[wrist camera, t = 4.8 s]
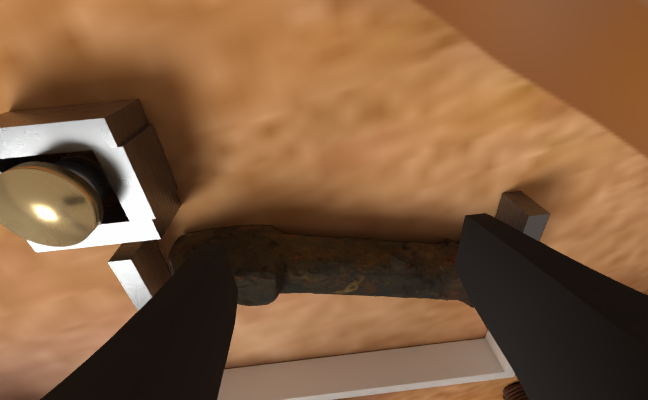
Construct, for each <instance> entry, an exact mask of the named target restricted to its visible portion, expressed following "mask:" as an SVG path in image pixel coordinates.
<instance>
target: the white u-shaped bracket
mask: <svg viewBox="0 0 648 400" xmlns="http://www.w3.org/2000/svg"><path fill="white" fill-rule="evenodd" d="M514 375H515V373H514V371H513V369H512V368H511V366H510V364H509V363H508V361H507V359H506V358H505V356H504V355H503V353H502V351H501V350H500V348H499V346H498V345H497V343H496V342H495V340H494V338H493V337H492V335H491V333H490V332H489V330H488V331H487V334H486V336H485V338H482V339H474V340H465V341H457V342H449V343H440V344H432V345H424V346H415V347H407V348H399V349H390V350H382V351H374V352H365V353H357V354H349V355H340V356H332V357H324V358H315V359H307V360H299V361H290V362H282V363H274V364H265V365H257V366H249V367H240V368H232V369H224V372H223V377H222V381H221V385H220V389H219V394H218V398H217V400H333V399H341V398H349V397H357V396H366V395H374V394H382V393H390V392H398V391H406V390H414V389H422V388H430V387H438V386H446V385H454V384H462V383H470V382H478V381H487V380H495V379H503V378H511V377H514Z"/></svg>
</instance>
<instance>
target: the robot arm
mask: <svg viewBox="0 0 648 400" xmlns="http://www.w3.org/2000/svg"><path fill="white" fill-rule="evenodd" d="M455 268H456V271H457V273H458V275H459V278H460V280H461V282H462V285H463V287H464V289H465V291H466V293H467V295H468V297H469V299H470V301H471V302H472V304H473V306H474V307H475V309H476V311H477V312H478V314H479V316H480V317H481V319H482V321H483V322H484V324H485V325H486V327H487V329H488V330H489V332H490V333H491V335H492V337H493V338H494V340H495V342H496V343H497V345H498V346H499V348H500V350H501V351H502V353H503V355H504V356H505V358H506V359H507V361H508V363H509V364H510V366H511V368H512V369H513V371H514V373H515V375H516V376H517V378H518V380H519V382H520V383H521V385H522V387H523V389H524V391H525V393H526V395H527V397H528V399H529V400H648V295H645V294H643V293H641V292H639V291H636V290H634V289H632V288H630V287H628V286H626V285H623V284H621V283H619V282H617V281H615V280H613V279H611V278H609V277H607V276H605V275H603V274H601V273H599V272H597V271H595V270H593V269H590V268H588V267H587V266H585V265H583V264H581V263H579V262H577V261H575V260H573V259H571V258H569V257H567V256H565V255H563V254H561V253H560V252H558V251H556V250H554V249H552V248H550V247H548V246H546V245H545V244H543V243H541V242H539V241H537V240H535V239H534V238H532V237H530V236H528V235H526V234H524V233H523V232H521V231H519V230H517V229H515V228H513V227H512V226H510V225H508V224H506V223H504V222H502V221H500V220H498V219H496V218H494V217H492V216H490V215H488V214H486V213H484V214H475V215H466V216H465V219H464V224H463V229H462V233H461V238H460V242H459V247H458V252H457V256H456V261H455ZM237 299H238V287H237V284H236V281H235V278H234V275H233V272H232V269H231V266H230V263H229V260H228V257H227V254H226V251H225V248H224V245H223V242H215V243H206V244H201V245H200V246H199V247H198V248H197V249H196V250H195V251H194V252H193V253H192V254H191V255H190V257H189V258H188V259H187V260H186V261H185V262H184V263H183V264H182V265H181V266H180V268H179V269H178V270H177V271H176V272H175V273H174V274H173V275H172V276H171V277H170V279H169V280H168V281H167V282H166V283H165V284H164V285H163V286H162V287H161V288H160V289H159V290H158V291H157V292H156V293H155V295H154V296H153V297H152V298H151V299H150V300H149V301H148V302H147V303H146V304H145V305H144V306H143V307H142V308H141V309H140V310H139V311H138V312H137V313H136V314H135V315H134V316H133V317H132V318H131V319H130V320H129V321H128V322H127V323H126V324H125V325H124V326H123V327H122V328H121V329H120V330H119V331H118V332H117V333H116V334H115V335H114V336H113V337H112V338H110V339H109V340H108V341H107V342H106V343H105V344H104V345H103V346H102V347H101V348H100V349H99V350H97V351H96V352H95V353H94V354H93V355H92V356H91V357H90V358H89V359H87V360H86V361H85V362H84V363H83V364H82V365H81V366H79V367H78V368H77V369H76V370H75V371H74V372H73V373H71V374H70V375H69V376H68V377H67V378H66V379H64V380H63V381H62V382H61V383H60V384H59V385H57V386H56V387H55V388H54V389H53V390H51V391H50V392H49V393H48V394H46V395H45V396H44V397H43V398H41V399H40V400H217V398H218V394H219V389H220V385H221V381H222V377H223V372H224V368H225V364H226V360H227V355H228V351H229V347H230V342H231V338H232V334H233V329H234V325H235V318H236V309H237Z"/></svg>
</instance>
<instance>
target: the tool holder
mask: <svg viewBox="0 0 648 400" xmlns="http://www.w3.org/2000/svg"><path fill="white" fill-rule="evenodd" d="M85 150H93V151H94V153H95V155H96V157H97V159H98V161H99V163H100V165H101V167H102V169H103V170H104V172H105V174H106V176H107V178H108V180H109V182H110V184H111V186H112V188H113V190H114V192H115V194H109V195H108V196H107V197H106V198H105V199H104V200H103V201H102V204H103V208H104V216H103V219H102V221H101V223H100V225H99V226H98V227H97V228H96V229H95V230H94V231H93V232H92V233H91V234H90V235H89V237H88V238H86V239H85V240H84V241H82V242H81V243H79V244H76V245H73V246H67V247H52V246H45V245H41V244H37V243H34V242H31V241H29V240H27V241H28V243H29V244H30V245H31V247H32V248H33V249H34V250H35V252H45V251H54V250H63V249H72V248H82V247H91V246H100V245H110V244H119V243H122V244H121V246H120V247H119V248H118V250H117V251H116V252H115V253H114V255H113V256H112V257H111V259H110V260H109V261H108V263H109V265H110V266H111V268H112V270H113V271H114V273H115V274H116V276H117V278H118V279H119V281H120V282H121V284H122V286H123V287H124V289H125V290H126V292H127V294H128V295H129V297H130V299H131V300H132V302H133V303H134V305H135V307H136V308H137V310H138V311H139V310H140V309H141V308H142V307H143V306H144V305H145V304H146V303H147V302H148V301H149V300H150V299H151V298H152V297H153V296H154V295H155V293H156V292H157V291H158V290H159V289H160V288H161V287H162V286H163V285H164V284H165V283H166V282H167V281H168V280H169V279H170V277H171V272H170V270H169V268H168V266H167V264H166V262H165V260H164V258H163V256H162V254H161V252H160V250H159V248H158V246H157V243H156V241H155V240H156V239H161V238H162V236H163V234H164V233H165V231H166V229H167V228H168V226H169V224H170V223H171V221H172V220H173V218H174V216H175V215H176V213H177V211H178V210H179V208H180V206H181V205H180V203H179V200H178V198H177V195H176V193H175V190H176V189H177V185H176V183H175V180H174V178H173V175H172V173H171V170H170V167H169V165H168V162H167V160H166V157H165V154H164V152H163V149H162V147H161V144H160V141H159V139H158V136H157V134H156V131H155V128H154V126H153V124H148V121H147V119H146V116H145V114H144V111H143V109H142V106H141V104H140V101H139V99H136V100H126V101H115V102H105V103H94V104H84V105H73V106H63V107H52V108H42V109H31V110H21V111H10V112H6V113H3V114H0V174H1V173H3V172H5V171H7V170H9V169H10V168H12V167H14V166H16V165H18V164H21V163H25V162H33V161H38V162H47V163H52V164H53V163H55V162H57V161H58V160H60V159H59V158H58V156H57V154H56V153H65V152H75V151H85ZM549 215H550V213H548V212H547V211H546V210H545V209H543V208H542V207H541V206H539V205H538V204H537V203H536V202H534V201H533V200H532V199H531V198H529V197H528V196H527V195H525V194H524V193H523V192H522V191H518V192H509V193H502V196H501V200H500V203H499V207H498V210H497V214H496V217H495V218H496V219H498V220H500V221H502V222H504V223H506V224H508V225H510V226H512V227H513V228H515V229H517V230H519V231H521V232H523V233H524V234H526V235H528V236H530V237H532V238H534V239H535V240H537V241H540V238H541V236H542V233H543V231H544V228H545V226H546V223H547V221H548V218H549Z"/></svg>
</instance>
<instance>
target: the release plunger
mask: <svg viewBox="0 0 648 400" xmlns="http://www.w3.org/2000/svg"><path fill="white" fill-rule="evenodd" d="M112 191H113V188H112V186H111V184H110V182H109V180H108V178H107V176H106V174H105V172H104V170H103V169H102V167H101V165H100V163H99V161H98V159H97V157H96V155H95V153H94V151H93V150H85V151H75V152H71V153H70V154H68V155H66V156H65V157H63V158H61V159H60V160H58V161H57V162H55V163H53V164H52V163H47V162H38V161H33V162H25V163H21V164H18V165H16V166H14V167H12V168H10V169H9V170H7V171H5V172H3V173H1V174H0V223H1V224H3V225H4V226H5V227H6V228H7V229H9V230H10V231H12V232H13V233H15V234H16V235H18V236H20V237H22V238H24V239H26V240H29V241H31V242H34V243H37V244H41V245H45V246H52V247H67V246H73V245H76V244H79V243H81V242H82V241H84V240H85V239H86V238H88V237H89V235H90V234H91V233H92V232H93V231H94V230H95V229H96V228H97V227H98V226H99V225H100V223H101V221H102V219H103V216H104V208H103V204H102V201H103V200H104V199H105V198H106V197H107V196H108V195H109V194H110V193H111V192H112Z"/></svg>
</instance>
